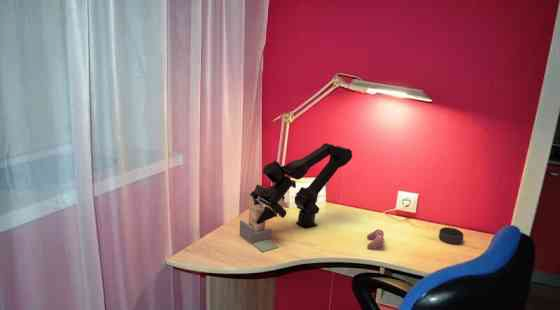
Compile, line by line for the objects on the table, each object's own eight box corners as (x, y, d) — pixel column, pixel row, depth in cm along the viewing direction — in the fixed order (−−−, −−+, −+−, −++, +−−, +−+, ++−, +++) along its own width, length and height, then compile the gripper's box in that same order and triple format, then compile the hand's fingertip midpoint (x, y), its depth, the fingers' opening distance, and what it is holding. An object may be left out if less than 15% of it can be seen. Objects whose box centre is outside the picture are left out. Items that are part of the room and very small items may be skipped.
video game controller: (376, 254, 147) (387, 240, 145) (366, 248, 147) (376, 233, 145) (375, 243, 157) (385, 229, 155) (365, 236, 157) (375, 223, 155)
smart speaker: (460, 237, 162) (461, 228, 161) (464, 247, 154) (465, 237, 153) (437, 234, 165) (438, 225, 164) (439, 243, 156) (441, 233, 155)
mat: (267, 240, 150) (267, 239, 150) (278, 247, 145) (278, 246, 145) (252, 244, 146) (252, 243, 146) (262, 252, 141) (262, 251, 141)
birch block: (258, 228, 156) (259, 204, 153) (264, 232, 152) (265, 208, 150) (248, 230, 153) (249, 206, 151) (254, 235, 150) (255, 210, 147)
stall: (259, 230, 159) (259, 216, 157) (271, 238, 152) (271, 223, 151) (239, 234, 154) (240, 220, 152) (251, 243, 147) (251, 228, 146)
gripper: (254, 171, 157) (229, 201, 154) (281, 184, 142) (253, 218, 139) (270, 187, 164) (246, 217, 160) (297, 201, 149) (271, 234, 145)
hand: (253, 221), depth 151 cm, fingers open, 5 cm apart
